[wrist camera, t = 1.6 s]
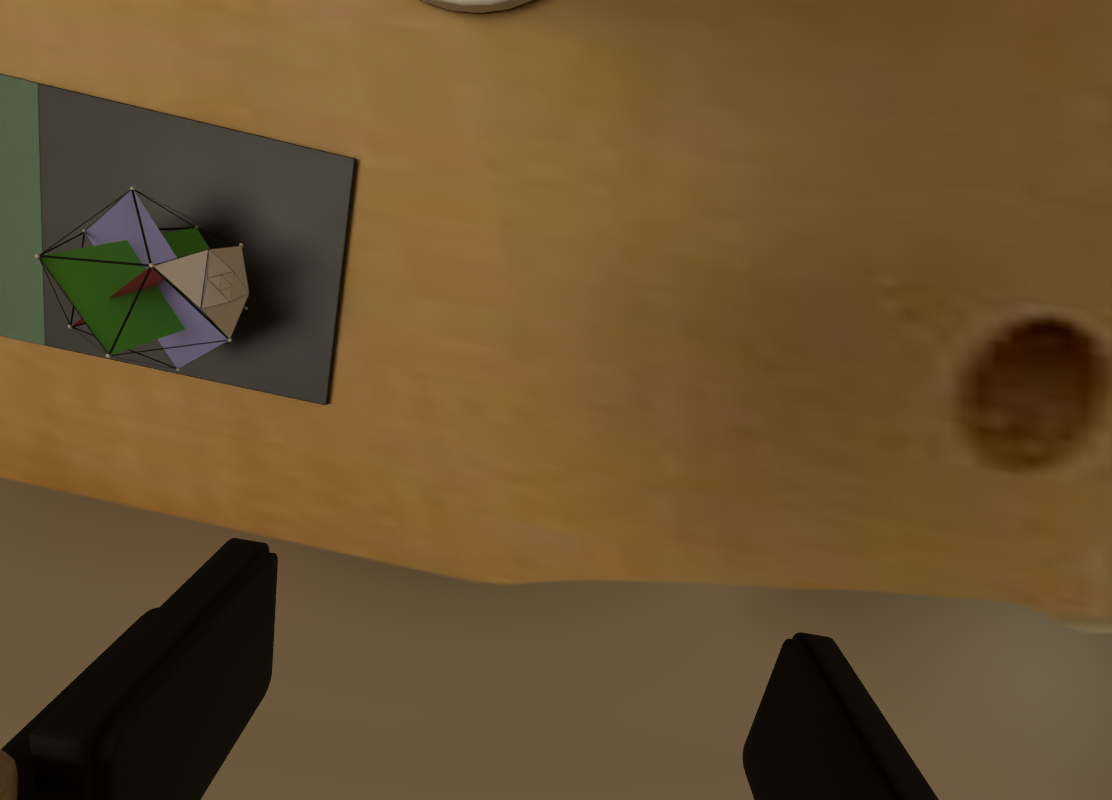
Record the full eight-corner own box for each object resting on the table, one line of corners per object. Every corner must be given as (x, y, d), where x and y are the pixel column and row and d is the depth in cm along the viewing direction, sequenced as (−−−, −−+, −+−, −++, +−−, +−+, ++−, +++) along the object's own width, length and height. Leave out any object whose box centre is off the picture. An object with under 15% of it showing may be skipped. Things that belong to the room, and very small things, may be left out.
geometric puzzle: (124, 399, 27) (101, 394, 20) (27, 263, 25) (-33, 209, 18) (271, 332, 30) (294, 309, 23) (195, 208, 28) (196, 146, 22)
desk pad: (-242, 16, 25) (-251, 14, 24) (356, 159, 26) (354, 158, 26) (-201, 291, 28) (-209, 291, 28) (328, 403, 29) (325, 405, 29)
